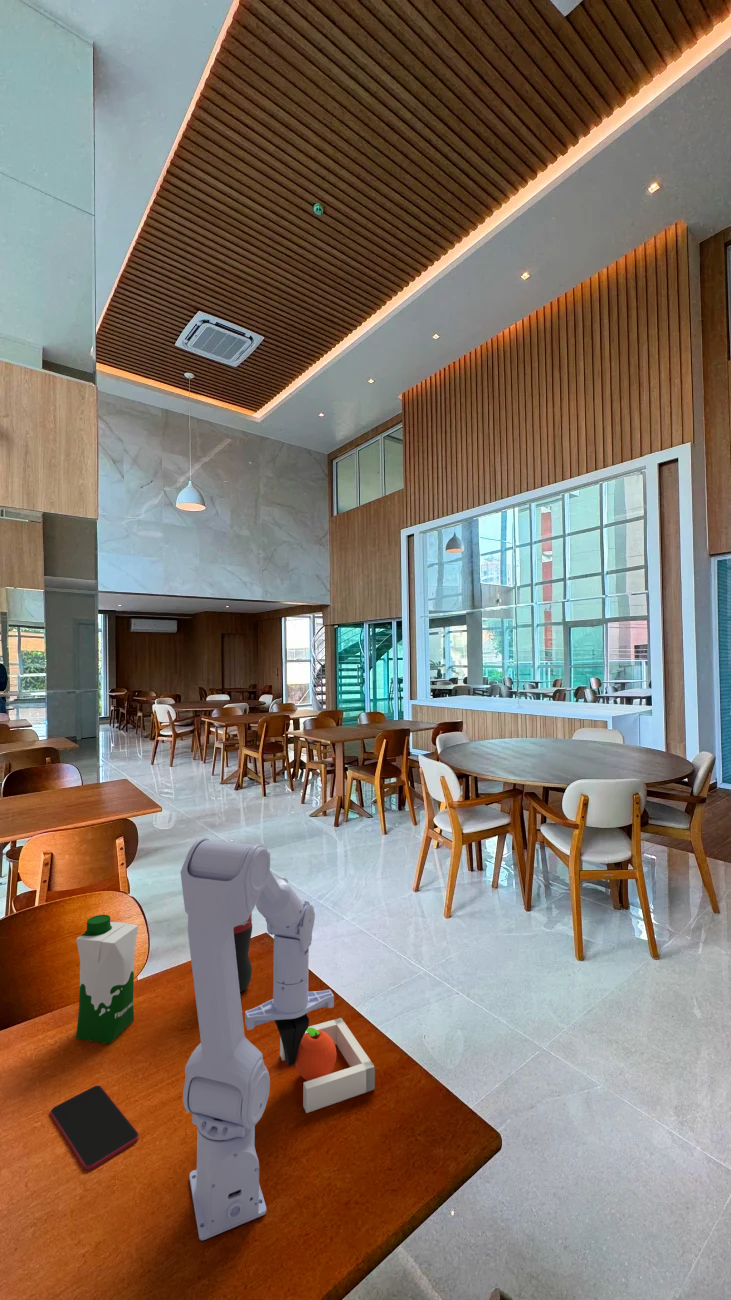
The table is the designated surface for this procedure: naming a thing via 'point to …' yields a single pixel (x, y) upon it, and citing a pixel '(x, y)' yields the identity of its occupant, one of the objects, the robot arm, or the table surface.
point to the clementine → (315, 1055)
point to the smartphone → (94, 1127)
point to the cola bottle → (243, 952)
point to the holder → (342, 1081)
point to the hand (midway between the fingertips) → (290, 1061)
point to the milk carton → (106, 979)
